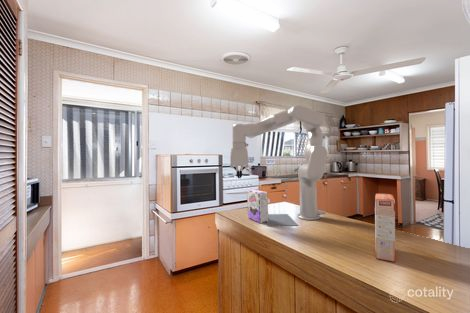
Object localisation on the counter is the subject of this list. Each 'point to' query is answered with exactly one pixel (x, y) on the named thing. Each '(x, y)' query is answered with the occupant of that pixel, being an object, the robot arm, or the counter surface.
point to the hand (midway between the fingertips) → (239, 178)
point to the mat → (280, 220)
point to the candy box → (257, 205)
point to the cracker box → (385, 227)
